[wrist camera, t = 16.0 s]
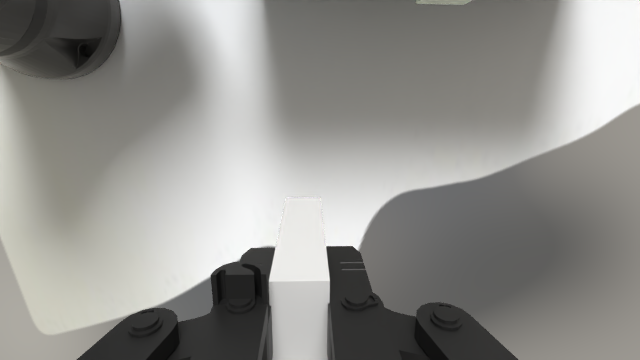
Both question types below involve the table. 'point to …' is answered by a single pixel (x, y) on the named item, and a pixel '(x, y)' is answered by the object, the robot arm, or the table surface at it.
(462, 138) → the table surface
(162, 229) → the table surface
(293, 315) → the robot arm
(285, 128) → the table surface
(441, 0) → the sage key
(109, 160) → the table surface
